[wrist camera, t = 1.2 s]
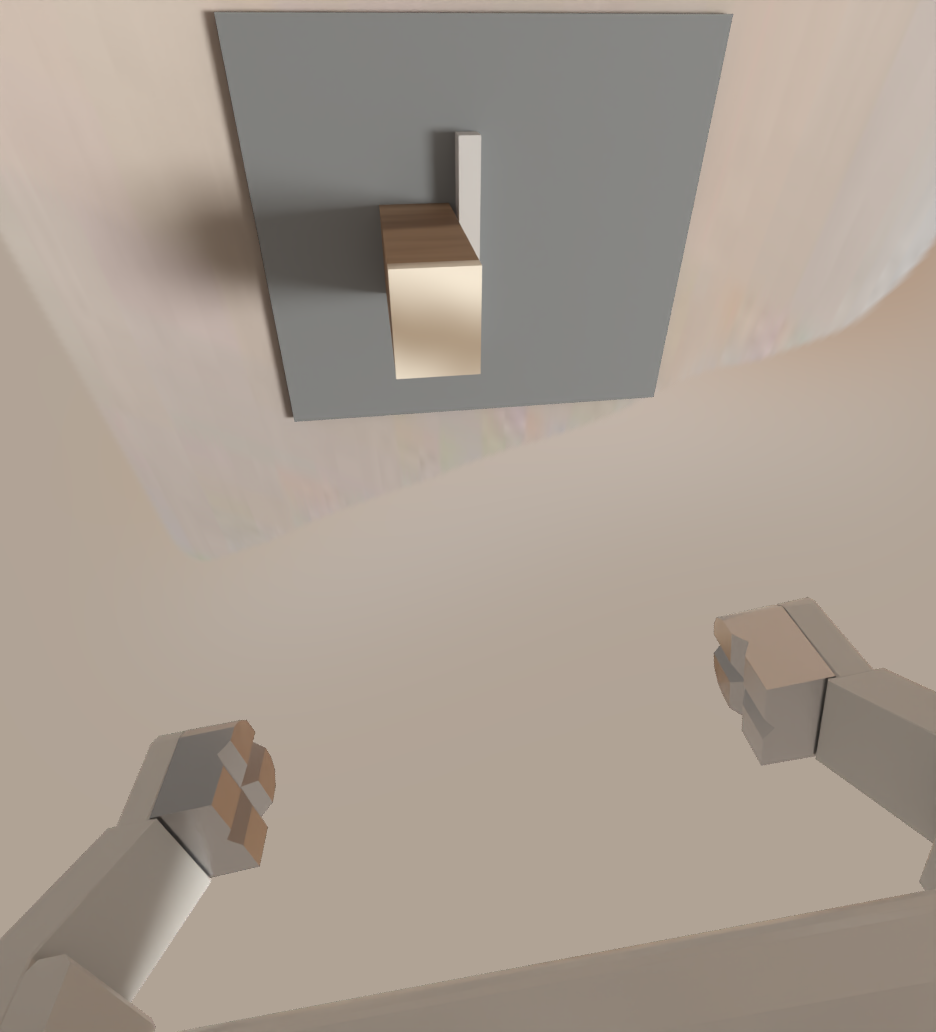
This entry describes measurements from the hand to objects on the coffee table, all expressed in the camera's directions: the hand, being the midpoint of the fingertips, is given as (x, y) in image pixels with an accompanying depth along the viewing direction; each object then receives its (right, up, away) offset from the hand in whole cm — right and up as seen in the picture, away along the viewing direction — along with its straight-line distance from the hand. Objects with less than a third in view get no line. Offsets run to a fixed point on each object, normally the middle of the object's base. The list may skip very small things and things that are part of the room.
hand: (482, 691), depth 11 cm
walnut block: (-3, +19, +26) cm, 33 cm away
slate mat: (+1, +20, +27) cm, 34 cm away
